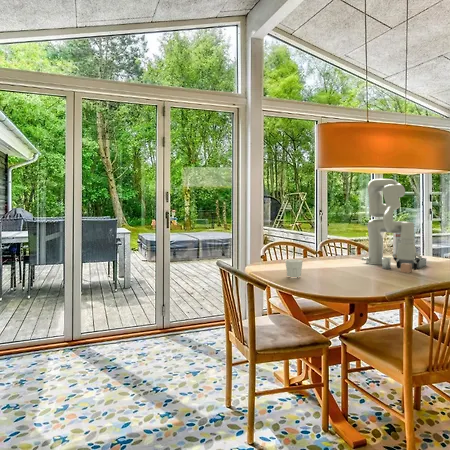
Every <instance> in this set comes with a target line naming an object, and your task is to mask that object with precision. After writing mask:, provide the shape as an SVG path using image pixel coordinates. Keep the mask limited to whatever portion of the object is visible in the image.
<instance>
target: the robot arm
mask: <svg viewBox="0 0 450 450" xmlns="http://www.w3.org/2000/svg"><path fill="white" fill-rule="evenodd" d="M380 192H382V194H381V193H380ZM367 194H368V198H369V206H368V207H369V210H368V211H369V215H370V216H371V217H372V218H374V219H371V220H370V219H369V221H368V222H367V232H368V255H367V257H361V260H362V261H365V263H366V264H369V265H377V266H378V265H379V266H381V265H382V258H384V256H383V255H384V238H383V235H382V234H381V233H390V234H393V233H401V235H400V238H401V239H398V241H399V242H400V244H399V246H398V252H397V253H395V254H393V253H392V259H393V258H394V259H395V260H394V259H393V260H394V261H395V262H396V267H397V269H401V267H400V260H413V261H414V268H413V271H415V270H417V269H416V268H417V263H418V262H419V261H420V260H421V258H423V256H422V255H420V254H418V253H417V249H416V243H415V244H414V233H415V224H414V222H412V221H403V220H400V221H399V220H398V221H397V220H394V211H396V210H399V208H401V205H402V204H401V202H400V201H401V200H400V198H402V197H404V196H405V194H406V188H405V186H404V185H402V184H401V183H400V182H398V181H396V180H394V179H393V178H375V179H371V180H370V181H369V182H368V183H367ZM382 195H383V197H382ZM383 199H384V202H385V203H383ZM376 218H377V219H376ZM396 255H397V258H398V259H397V258H396ZM416 257H417V258H419V259H418V260H416Z"/></svg>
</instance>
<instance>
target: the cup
mask: <svg viewBox="0 0 450 450" xmlns="http://www.w3.org/2000/svg"><path fill="white" fill-rule="evenodd" d="M284 260H285V267H286V277H287V276H290V277H299V276H301V277H302V269H303V260H302V259H299V258H298V259H296V258H294V259H293V258H290V259H284Z"/></svg>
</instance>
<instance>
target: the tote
mask: <svg viewBox="0 0 450 450" xmlns="http://www.w3.org/2000/svg"><path fill="white" fill-rule="evenodd" d="M418 259H419V257H417V256H416V260H418ZM402 263H409V264H412V269H414V261H413V260H400V268H401V264H402ZM426 266H427V258H426V257H422V258H421V260H420V261H419V262H418V263H417V268H416V270H420V269H422V268H424V267H426Z"/></svg>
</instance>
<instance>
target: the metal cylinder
mask: <svg viewBox="0 0 450 450" xmlns="http://www.w3.org/2000/svg"><path fill="white" fill-rule="evenodd" d="M381 265H382V266H381V267H382V270H391V265H392V264H391V257H383V258H382V264H381Z"/></svg>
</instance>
